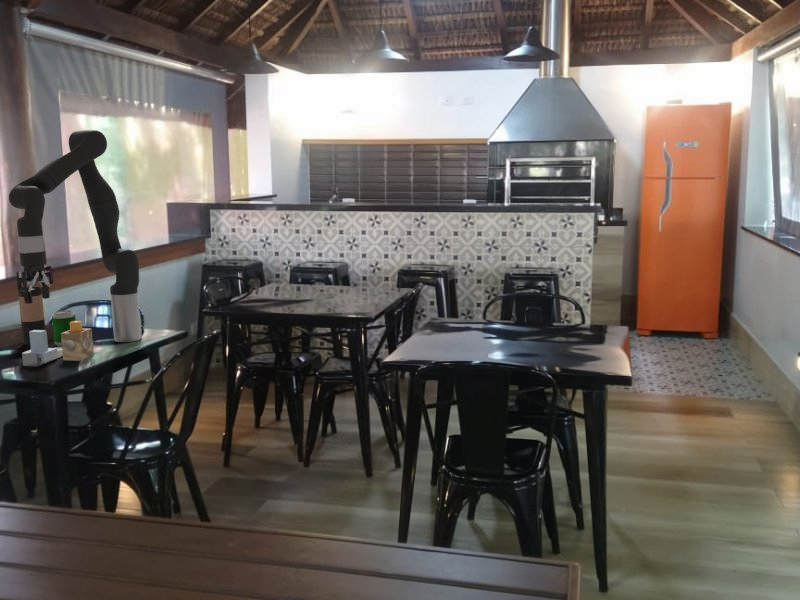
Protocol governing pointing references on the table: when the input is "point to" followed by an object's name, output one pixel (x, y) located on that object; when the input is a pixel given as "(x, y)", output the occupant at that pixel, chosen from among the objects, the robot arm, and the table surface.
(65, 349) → the open wooden box
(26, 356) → the rail
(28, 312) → the travel mug
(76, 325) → the orange rounded piece
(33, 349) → the carriage
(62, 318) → the soda can
